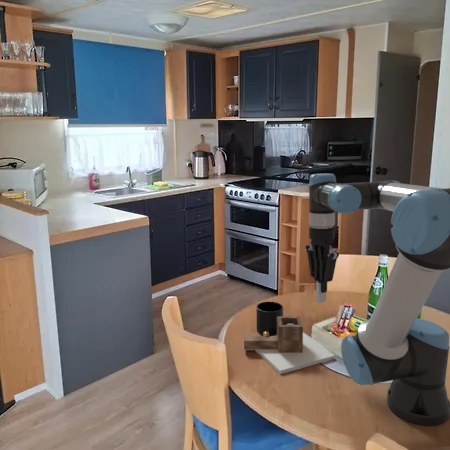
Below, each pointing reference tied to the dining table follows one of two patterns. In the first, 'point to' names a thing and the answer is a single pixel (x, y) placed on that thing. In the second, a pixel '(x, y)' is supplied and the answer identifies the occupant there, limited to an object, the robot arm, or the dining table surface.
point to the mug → (268, 316)
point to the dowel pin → (265, 333)
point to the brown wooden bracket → (280, 337)
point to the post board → (296, 356)
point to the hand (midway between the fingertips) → (321, 301)
